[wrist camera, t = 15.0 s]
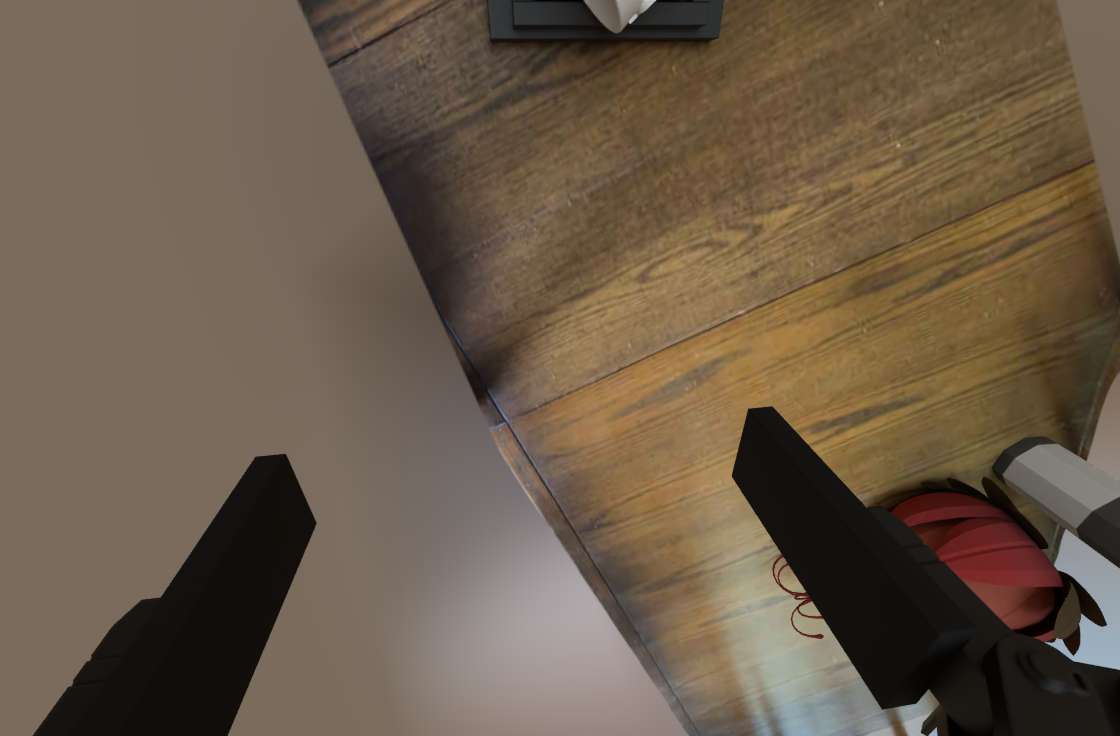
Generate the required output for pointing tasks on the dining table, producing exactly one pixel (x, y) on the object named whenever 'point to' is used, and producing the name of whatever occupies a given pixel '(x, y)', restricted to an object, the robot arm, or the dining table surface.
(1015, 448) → the wine bottle
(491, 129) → the dining table surface
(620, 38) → the black stepped plinth
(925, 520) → the decorative flower
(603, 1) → the mug
